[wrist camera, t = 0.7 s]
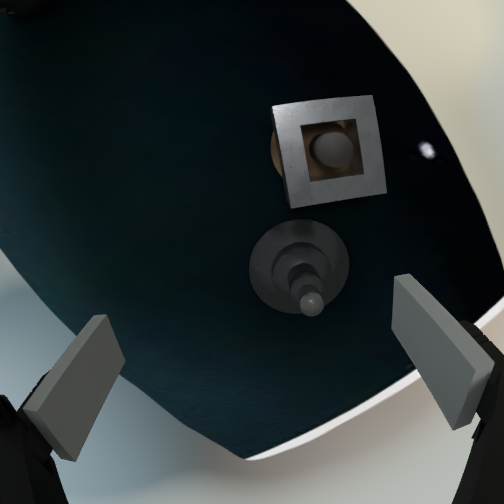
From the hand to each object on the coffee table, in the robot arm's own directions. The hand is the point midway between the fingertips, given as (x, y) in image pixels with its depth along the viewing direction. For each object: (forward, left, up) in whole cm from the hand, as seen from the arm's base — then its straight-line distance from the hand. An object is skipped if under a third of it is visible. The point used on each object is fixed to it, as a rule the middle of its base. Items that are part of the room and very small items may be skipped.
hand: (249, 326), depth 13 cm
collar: (-6, +8, -20) cm, 22 cm away
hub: (+8, +4, -24) cm, 25 cm away
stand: (-6, +8, -24) cm, 26 cm away
